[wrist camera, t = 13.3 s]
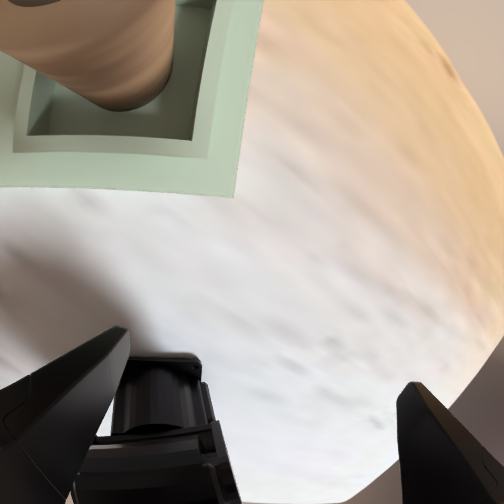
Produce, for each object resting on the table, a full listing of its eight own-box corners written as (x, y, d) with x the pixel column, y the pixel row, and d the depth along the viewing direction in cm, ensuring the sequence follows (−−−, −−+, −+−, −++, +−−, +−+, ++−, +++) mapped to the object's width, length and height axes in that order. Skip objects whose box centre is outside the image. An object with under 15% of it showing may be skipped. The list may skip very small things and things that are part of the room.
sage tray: (-31, 185, 14) (-66, 196, 10) (6, -9, 10) (-19, -31, 6) (229, 195, 19) (245, 208, 15) (261, -10, 15) (283, -40, 11)
